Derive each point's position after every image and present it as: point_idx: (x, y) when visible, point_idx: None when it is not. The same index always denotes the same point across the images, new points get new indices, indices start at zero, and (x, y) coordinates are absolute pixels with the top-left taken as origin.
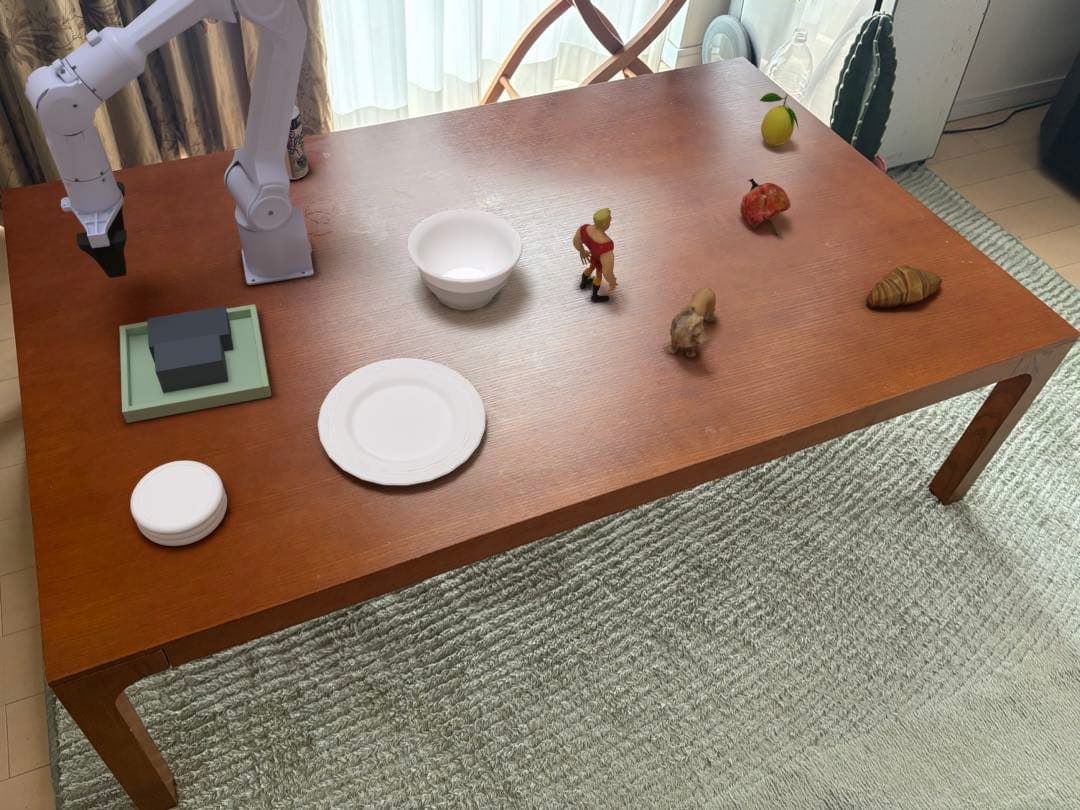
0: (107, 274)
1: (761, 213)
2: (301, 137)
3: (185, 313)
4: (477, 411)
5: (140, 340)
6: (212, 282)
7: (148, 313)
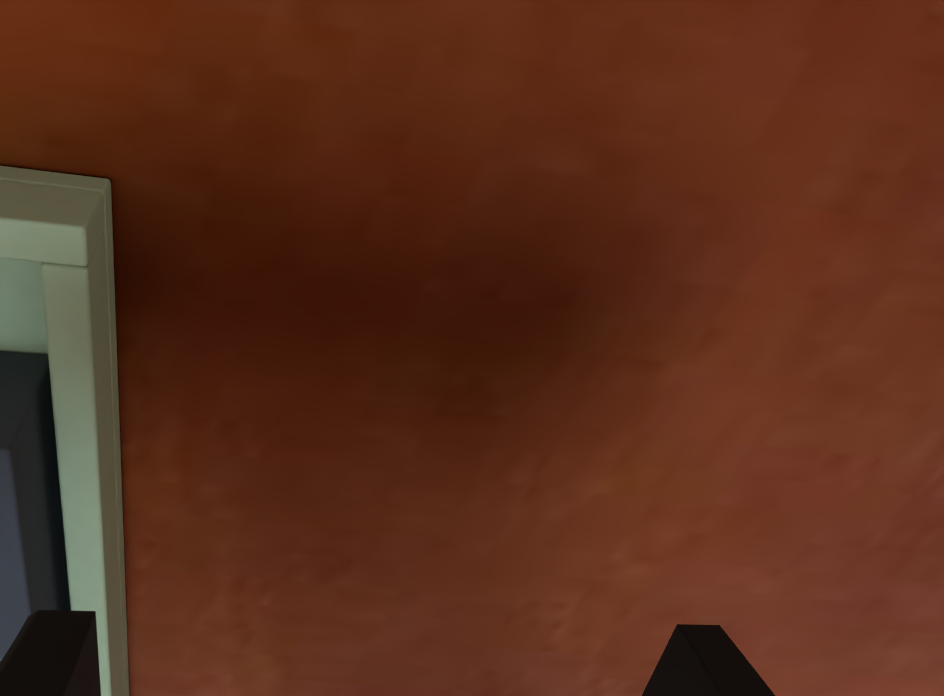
0: (9, 654)
1: None
2: None
3: (19, 626)
4: None
5: (6, 284)
6: (435, 606)
7: (307, 337)
